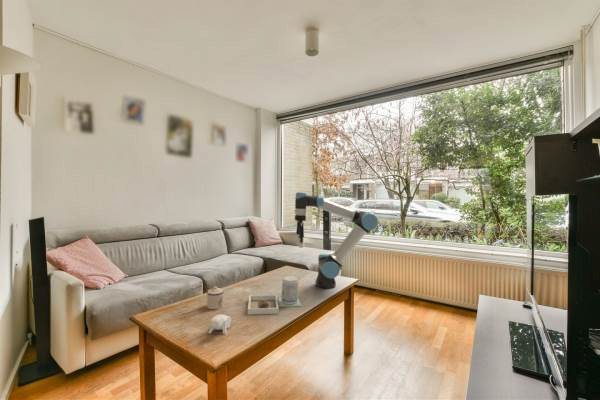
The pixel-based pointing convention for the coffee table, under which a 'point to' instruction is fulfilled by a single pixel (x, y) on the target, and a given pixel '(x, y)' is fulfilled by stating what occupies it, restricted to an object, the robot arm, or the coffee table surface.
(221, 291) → the teacup with lid
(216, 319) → the white animal figurine
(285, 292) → the supplement tub
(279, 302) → the mat
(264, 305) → the walnut block
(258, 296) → the parts tray
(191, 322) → the coffee table surface
